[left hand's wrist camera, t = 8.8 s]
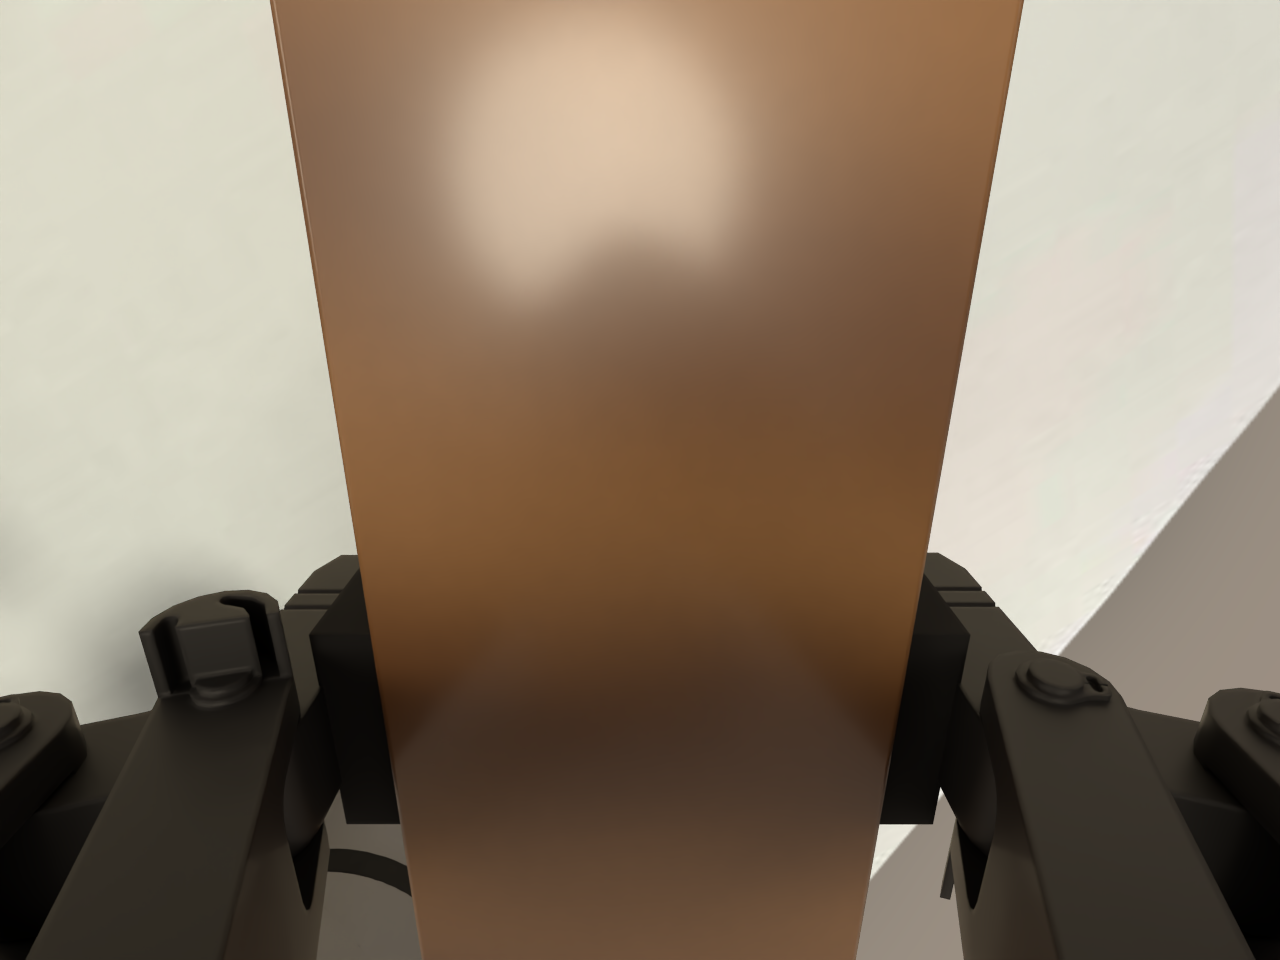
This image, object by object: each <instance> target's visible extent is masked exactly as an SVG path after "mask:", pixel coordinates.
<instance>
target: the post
mask: <svg viewBox="0 0 1280 960" xmlns="http://www.w3.org/2000/svg"><path fill="white" fill-rule="evenodd" d="M1023 3H1024V0H270V4H271V10H272V17H273V23H274V29H275V36H276V42H277V48H278V55H279V61H280V67H281V74H282V80H283V86H284V92H285V99H286V105H287V111H288V118H289V124H290V130H291V137H292V143H293V149H294V156H295V162H296V168H297V175H298V181H299V187H300V194H301V200H302V206H303V212H304V219H305V225H306V231H307V238H308V244H309V250H310V257H311V263H312V269H313V276H314V282H315V288H316V295H317V301H318V307H319V313H320V320H321V326H322V332H323V339H324V345H325V351H326V358H327V364H328V370H329V377H330V383H331V389H332V396H333V402H334V408H335V414H336V421H337V427H338V433H339V440H340V446H341V452H342V459H343V465H344V471H345V478H346V484H347V490H348V497H349V503H350V509H351V516H352V522H353V528H354V534H355V541H356V547H357V553H358V560H359V566H360V572H361V579H362V585H363V591H364V598H365V604H366V610H367V617H368V623H369V629H370V635H371V642H372V648H373V654H374V661H375V667H376V673H377V680H378V686H379V692H380V699H381V705H382V711H383V718H384V724H385V730H386V736H387V743H388V749H389V755H390V762H391V768H392V774H393V781H394V787H395V793H396V800H397V806H398V812H399V819H400V825H401V831H402V837H403V844H404V850H405V856H406V863H407V869H408V875H409V882H410V888H411V894H412V901H413V907H414V913H415V920H416V926H417V932H418V939H419V945H420V951H421V957H422V960H856V954H857V949H858V943H859V937H860V932H861V926H862V920H863V914H864V909H865V903H866V897H867V892H868V886H869V880H870V875H871V869H872V863H873V857H874V852H875V846H876V840H877V835H878V829H879V823H880V818H881V812H882V806H883V800H884V795H885V789H886V783H887V778H888V772H889V766H890V761H891V755H892V749H893V743H894V738H895V732H896V726H897V721H898V715H899V709H900V704H901V698H902V692H903V686H904V681H905V675H906V669H907V664H908V658H909V652H910V647H911V641H912V635H913V629H914V624H915V618H916V612H917V607H918V601H919V595H920V590H921V584H922V578H923V573H924V567H925V561H926V555H927V550H928V544H929V538H930V533H931V527H932V521H933V516H934V510H935V504H936V498H937V493H938V487H939V481H940V476H941V470H942V464H943V459H944V453H945V447H946V441H947V436H948V430H949V424H950V419H951V413H952V407H953V402H954V396H955V390H956V384H957V379H958V373H959V367H960V362H961V356H962V350H963V345H964V339H965V333H966V327H967V322H968V316H969V310H970V305H971V299H972V293H973V288H974V282H975V276H976V270H977V265H978V259H979V253H980V248H981V242H982V236H983V231H984V225H985V219H986V213H987V208H988V202H989V196H990V191H991V185H992V179H993V174H994V168H995V162H996V157H997V151H998V145H999V139H1000V134H1001V128H1002V122H1003V117H1004V111H1005V105H1006V100H1007V94H1008V88H1009V82H1010V77H1011V71H1012V65H1013V60H1014V54H1015V48H1016V43H1017V37H1018V31H1019V25H1020V20H1021V14H1022V8H1023Z"/></svg>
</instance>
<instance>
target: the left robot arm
mask: <svg viewBox="0 0 1280 960" xmlns="http://www.w3.org/2000/svg"><path fill="white" fill-rule="evenodd" d="M139 635H140V639H141V642H142V645H143V648H144V652H145V655H146V658H147V662H148V665H149V668H150V672H151V675H152V678H153V682H154V685H155V688H156V692H157V695H158V699H157V701H156V703H155V705H154V707H153V709H152V710H151V711H148V712H144V713H139V714H134V715H129V716H124V717H119V718H114V719H109V720H104V721H99V722H94V723H89V724H84V725H80V724H79V721H78V718H77V715H76V712H75V710H74V707H73V704H72V701H70V700H69V699H67V698H66V697H65V696H63V695H62V694H60V693H51V692H42V691H38V692H30V693H23V694H13V695H7V696H3V697H0V960H422V957H421V951H420V945H419V939H418V932H417V926H416V920H415V913H414V907H413V901H412V894H411V888H410V882H409V875H408V869H407V863H406V856H405V850H404V844H403V837H402V831H401V825H400V819H399V812H398V806H397V800H396V793H395V787H394V781H393V774H392V768H391V762H390V755H389V749H388V743H387V736H386V730H385V724H384V718H383V711H382V705H381V699H380V692H379V686H378V680H377V673H376V667H375V661H374V654H373V648H372V642H371V635H370V629H369V623H368V617H367V610H366V604H365V598H364V591H363V585H362V579H361V572H360V566H359V560H358V555H341V556H339V557H337V558H336V559H334V560H332V561H331V562H329V563H327V564H326V565H324V566H322V567H321V568H319V569H317V570H315V571H314V572H313V573H312V574H311V576H310V577H309V578H308V579H307V580H306V581H305V583H304V584H303V585H302V586H301V587H300V588H299V589H298V594H294V595H293V596H292V597H291V599H290V600H289V601H288V602H287V603H286V604H285V608H284V610H279V605H278V601H277V600H275V599H274V598H273V597H271V596H270V595H268V594H267V593H262V592H257V591H251V590H237V591H223V592H218V593H213V594H208V595H204V596H199V597H196V598H193V599H191V600H188V601H185V602H183V603H180V604H177V605H174V606H172V607H171V608H169V609H167V610H165V611H164V612H162V613H160V614H159V615H157V616H155V617H153V618H152V619H151V620H150V621H149V622H148V623H147V624H146V625H145V626H144V627H143V628H142V629H141V630H140V631H139ZM940 787H941V789H942V791H943V793H944V795H945V797H946V799H947V800H948V802H949V805H950V806H951V808H952V810H953V812H954V814H955V816H956V820H955V825H954V829H953V834H952V839H951V843H950V848H949V853H948V857H947V862H946V867H945V871H944V876H943V881H942V887H941V894H940V897H941V898H945V899H950V897H951V893H952V888H953V884H954V885H955V893H956V901H957V909H958V917H959V925H960V933H961V940H962V949H963V956H964V960H1280V693H1275V692H1271V691H1261V690H1253V689H1246V688H1235V689H1225V690H1219V691H1218V692H1217V693H1215V694H1214V695H1212V696H1211V697H1210V698H1209V699H1208V701H1207V704H1206V707H1205V710H1204V713H1203V715H1202V718H1201V721H1200V722H1197V721H1193V720H1188V719H1182V718H1177V717H1172V716H1167V715H1162V714H1157V713H1152V712H1147V711H1142V710H1137V709H1133V708H1129V707H1127V706H1126V704H1125V702H1124V700H1123V698H1122V696H1121V695H1120V694H1119V693H1118V692H1117V690H1116V689H1115V688H1114V687H1113V685H1112V684H1111V683H1110V682H1109V681H1108V680H1106V679H1105V678H1103V677H1102V676H1100V675H1099V674H1097V673H1096V672H1095V671H1093V670H1092V669H1090V668H1088V667H1086V666H1084V665H1081V664H1079V663H1076V662H1074V661H1072V660H1070V659H1067V658H1065V657H1061V656H1057V655H1052V654H1048V653H1044V652H1039V651H1037V650H1036V649H1035V648H1034V647H1033V645H1032V644H1031V643H1030V642H1029V641H1028V640H1027V639H1026V637H1025V636H1024V635H1023V634H1022V633H1021V632H1020V631H1019V629H1018V628H1017V627H1016V626H1015V625H1014V624H1013V623H1012V621H1011V620H1010V619H1009V618H1008V617H1007V616H1006V615H1005V613H1004V612H1003V611H1002V610H1001V609H1000V608H999V607H995V602H994V601H993V600H992V599H991V597H990V596H989V595H988V594H987V593H986V592H985V591H982V587H981V586H980V585H979V584H978V583H977V581H976V580H975V579H974V578H973V577H972V576H971V575H970V573H969V572H968V571H967V570H966V569H965V568H963V567H962V566H960V565H958V564H956V563H955V562H953V561H951V560H950V559H948V558H946V557H945V556H943V555H941V554H939V553H927V555H926V561H925V567H924V573H923V578H922V584H921V590H920V595H919V601H918V607H917V612H916V618H915V624H914V629H913V635H912V641H911V647H910V652H909V658H908V664H907V669H906V675H905V681H904V686H903V692H902V698H901V704H900V709H899V715H898V721H897V726H896V732H895V738H894V743H893V749H892V755H891V761H890V766H889V772H888V778H887V783H886V789H885V795H884V800H883V806H882V812H881V818H880V823H879V824H933V821H934V816H935V811H936V806H937V801H938V796H939V791H940Z"/></svg>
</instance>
